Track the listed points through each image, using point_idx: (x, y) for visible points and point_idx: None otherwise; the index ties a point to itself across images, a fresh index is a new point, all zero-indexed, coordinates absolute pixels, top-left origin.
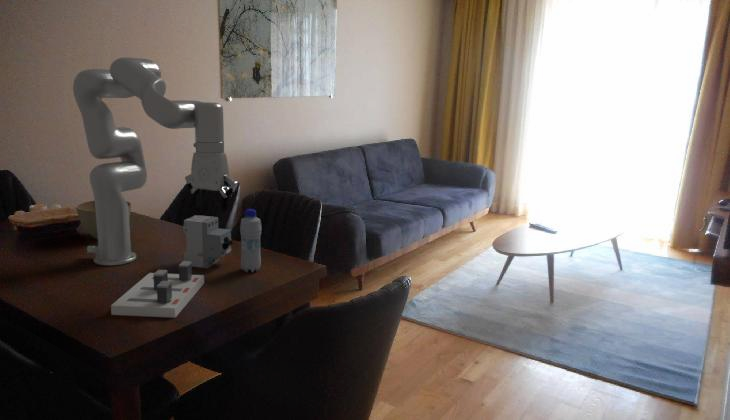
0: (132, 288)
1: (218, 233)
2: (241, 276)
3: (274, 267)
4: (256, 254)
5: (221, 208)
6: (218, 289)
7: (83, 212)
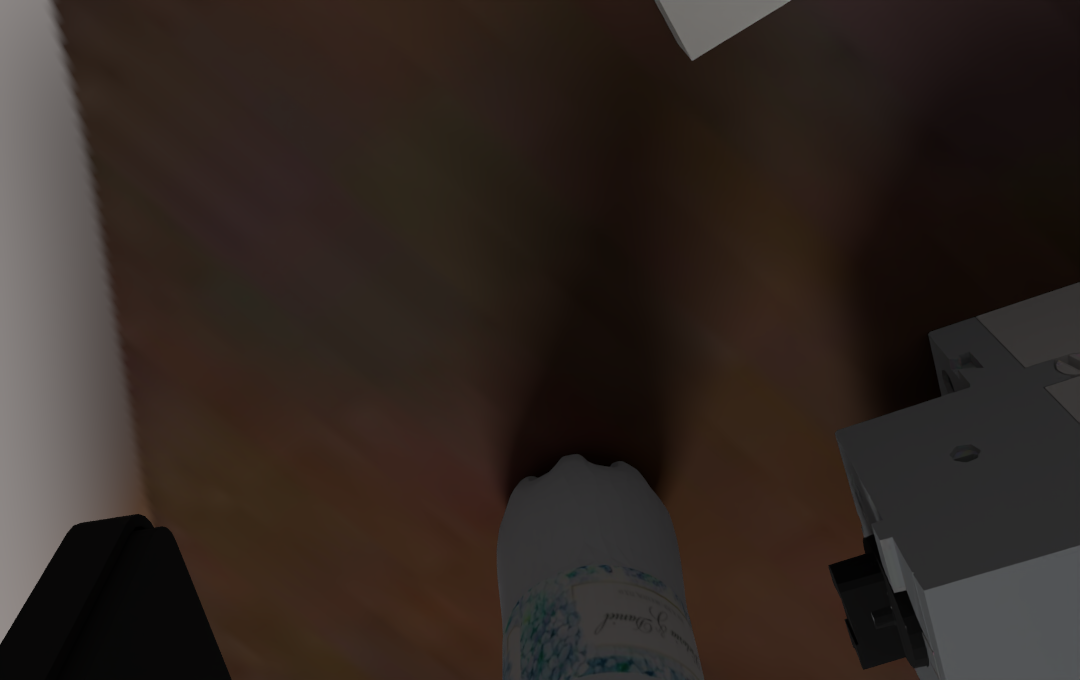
0: None
1: (1000, 630)
2: (535, 370)
3: (480, 647)
4: (503, 611)
5: (126, 574)
6: (447, 19)
7: None
